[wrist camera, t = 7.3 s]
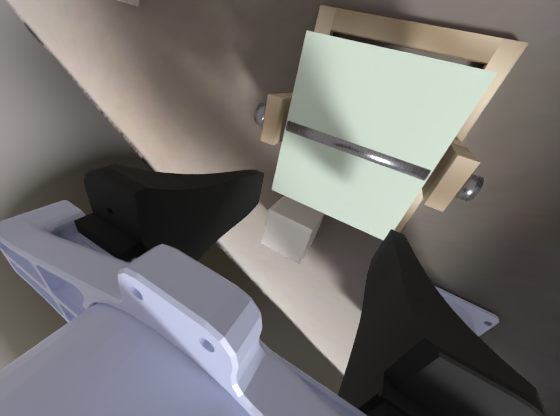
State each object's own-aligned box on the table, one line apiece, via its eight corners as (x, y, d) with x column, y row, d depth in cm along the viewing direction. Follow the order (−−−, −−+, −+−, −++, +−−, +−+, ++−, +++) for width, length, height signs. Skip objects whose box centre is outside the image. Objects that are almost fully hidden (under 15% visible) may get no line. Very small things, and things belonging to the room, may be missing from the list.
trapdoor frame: (406, 231, 21) (405, 280, 15) (277, 175, 24) (242, 200, 19) (535, 47, 13) (621, 21, 8) (316, 6, 16) (273, -30, 11)
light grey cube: (314, 239, 26) (299, 264, 22) (280, 222, 27) (261, 243, 24) (326, 208, 23) (312, 230, 20) (288, 191, 25) (268, 209, 21)
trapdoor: (388, 224, 17) (386, 242, 15) (284, 179, 19) (270, 190, 18) (482, 74, 11) (498, 72, 10) (320, 37, 14) (305, 30, 12)
